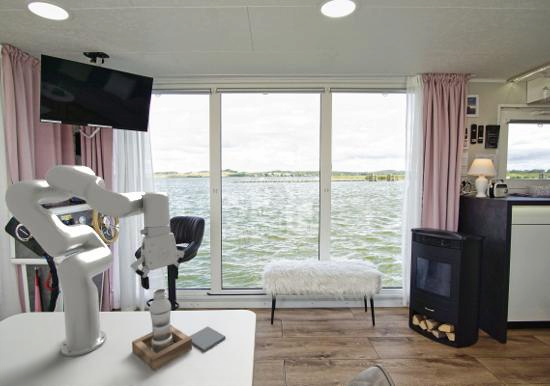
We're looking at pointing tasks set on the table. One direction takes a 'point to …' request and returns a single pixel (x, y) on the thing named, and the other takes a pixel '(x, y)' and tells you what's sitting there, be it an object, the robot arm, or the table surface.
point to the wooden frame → (164, 356)
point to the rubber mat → (206, 338)
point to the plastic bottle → (160, 321)
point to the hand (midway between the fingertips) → (160, 283)
